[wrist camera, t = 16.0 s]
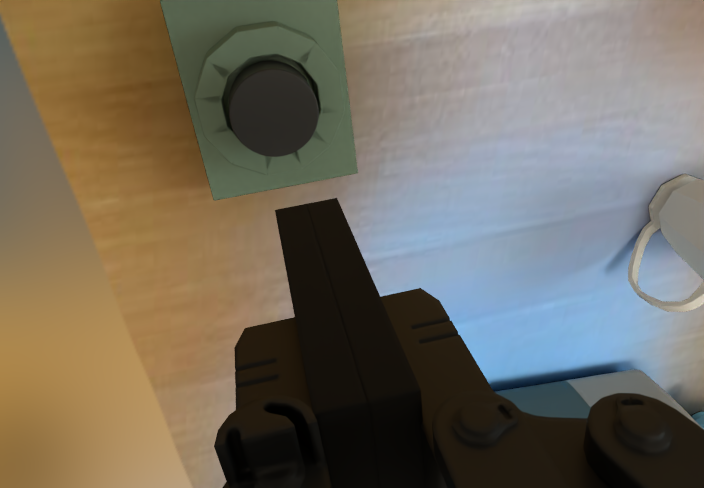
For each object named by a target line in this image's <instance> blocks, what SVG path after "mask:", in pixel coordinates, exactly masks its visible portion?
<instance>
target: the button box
mask: <svg viewBox="0 0 704 488" xmlns="http://www.w3.org/2000/svg"><path fill="white" fill-rule="evenodd" d="M160 3H161V7H162V11H163V15H164V18H165V22H166V26H167V29H168V33H169V37H170V40H171V44H172V48H173V52H174V55H175V59H176V63H177V66H178V70H179V74H180V77H181V81H182V85H183V89H184V92H185V96H186V100H187V103H188V107H189V111H190V114H191V118H192V122H193V126H194V129H195V133H196V137H197V140H198V144H199V148H200V151H201V155H202V159H203V163H204V166H205V170H206V174H207V177H208V181H209V185H210V188H211V192H212V196H213V200H220V199H225V198H230V197H236V196H241V195H246V194H251V193H257V192H262V191H267V190H272V189H278V188H283V187H288V186H293V185H299V184H304V183H309V182H314V181H320V180H325V179H330V178H335V177H341V176H346V175H351V174H356V173H358V170H357V162H356V153H355V145H354V137H353V129H352V120H351V112H350V104H349V96H348V87H347V79H346V71H345V63H344V54H343V46H342V38H341V30H340V21H339V13H338V5H337V0H160ZM268 60H272V61H280V62H283V63H286V64H288V65H290V66H292V67H294V68H295V69H297V70H298V71H299V72H300V73H301V74H302V75H303V76H304V78H305V79H306V80H307V82H308V84H309V85H310V87H311V89H312V90H313V92H314V94H315V97H316V99H317V103H318V108H319V119H318V124H317V127H316V130H315V132H314V134H313V136H312V137H311V139H310V140H309V141H308V142H307V143H306V144H305V145H304V146H303V147H302V148H301V149H299V150H298V151H296V152H294V153H292V154H289V155H285V156H280V157H269V156H264V155H260V154H257V153H255V152H253V151H251V150H250V149H248V148H247V147H245V146H244V145H243V144H242V143H241V142H240V140H239V139H238V138H237V136H236V135H235V133H234V131H233V129H232V126H231V123H230V118H229V94H230V90H231V87H232V84H233V82H234V81H235V79H236V78H237V76H238V75H239V74H240V73H241V72H242V71H243V70H244V69H246V68H247V67H248V66H250V65H252V64H254V63H257V62H261V61H268Z"/></svg>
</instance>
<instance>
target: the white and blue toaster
mask: <svg viewBox="0 0 704 488" xmlns="http://www.w3.org/2000/svg"><path fill="white" fill-rule="evenodd" d="M495 393H497V394H499V395H500V396H502V397H504V398H506V399H508V400H510V401H512V402H513V403H514V404H515V405H516V406H517V407H518V408H519V409H520V410H521V411H522V412H526V413H529V414H532V415H536V416H544V417H561V418H588V415H589V412H590V408H591V406H593V405H594V404H595V403H596V402H597V401H598V400H600V399H601V398H602V397H606V396H609V395H612V394H616V393H638V394H641V395H645V396H648V397H652V398H656V399H658V400H660V401H662V402H664V403H666V404H667V405H669V406H671V407H673V408H675V409H676V410H678V411H679V412H680V413H682V414H683V415H685V416H686V417H687V418H689V419H690V420H691V421H693V422H694V423H696V424H697V425H698V426H700V425H699V424H698V423H697V422H696V421H695V420H694V419H693V418H692V417H691V416H690V415H689V414H688V413H687V412H686V411H685V410H684V409H683V408H682V407H681V406H680V405H679V404H678V403H677V402H676V401H675V400H674V399H673V398H672V397H671V396H670V395H669V394H668V393H666V392H665V391H664V390H663V389H662V388H661V387H660V386H659V385H658V384H656V383H655V382H654V381H653V380H652V379H651V378H650V377H648V376H647V375H646V374H645V373H643V372H642V371H640V370H636V369H633V370H627V371H621V372H615V373H608V374H602V375H596V376H590V377H584V378H578V379H571V380H565V381H559V382H553V383H546V384H540V385H534V386H528V387H521V388H515V389H509V390H503V391H496V392H495ZM700 427H701V426H700ZM701 428H702V427H701ZM702 429H703V428H702Z"/></svg>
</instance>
